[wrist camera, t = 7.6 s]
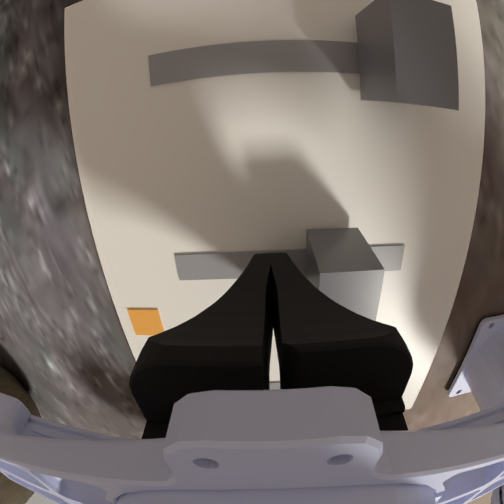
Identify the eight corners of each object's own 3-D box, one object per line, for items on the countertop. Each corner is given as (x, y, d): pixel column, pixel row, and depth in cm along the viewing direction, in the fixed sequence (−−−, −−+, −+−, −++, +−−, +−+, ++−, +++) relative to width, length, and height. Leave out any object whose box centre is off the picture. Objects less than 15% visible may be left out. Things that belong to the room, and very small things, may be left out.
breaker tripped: (357, 227, 12) (385, 269, 9) (350, 296, 13) (369, 347, 10) (306, 229, 12) (320, 273, 9) (305, 299, 13) (314, 352, 10)
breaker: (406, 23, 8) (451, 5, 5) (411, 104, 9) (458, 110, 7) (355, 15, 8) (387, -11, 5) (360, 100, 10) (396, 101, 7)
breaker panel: (453, 5, 9) (476, -3, 7) (403, 387, 20) (411, 409, 18) (87, 15, 10) (63, 7, 8) (169, 399, 21) (163, 421, 19)
